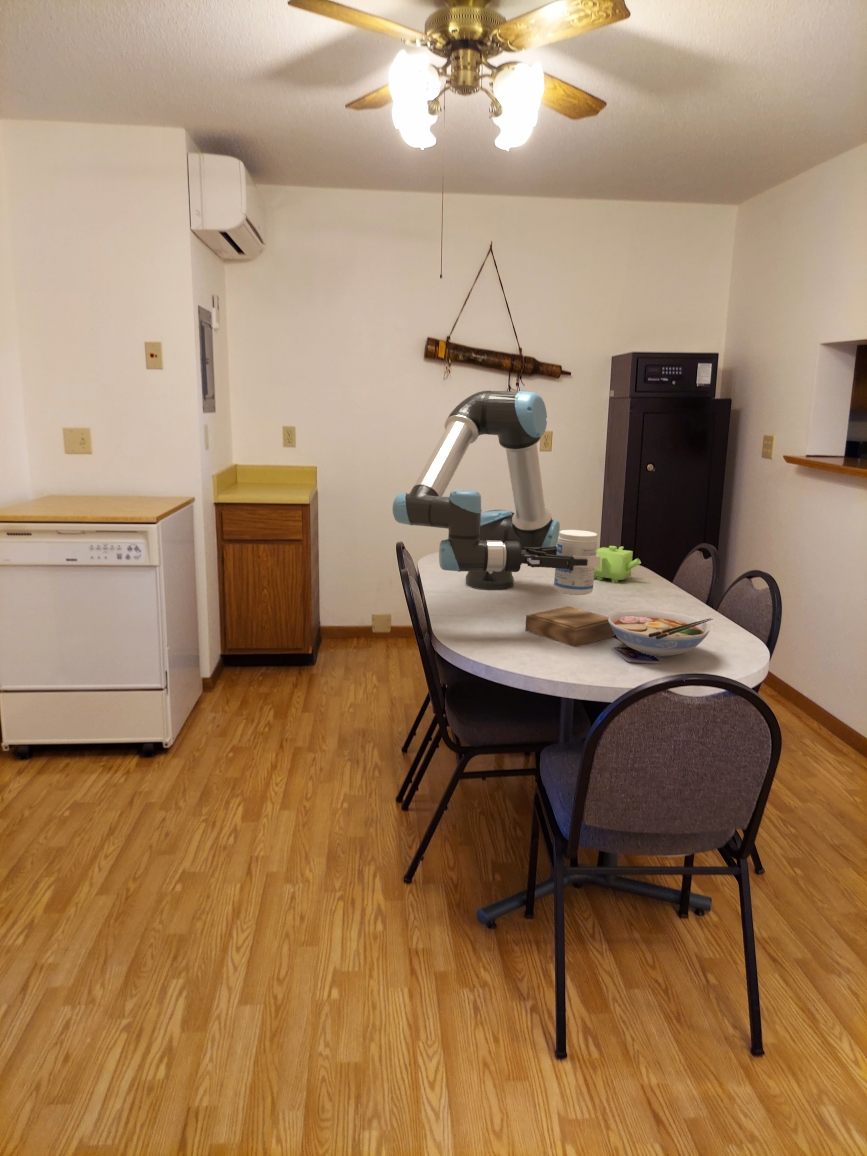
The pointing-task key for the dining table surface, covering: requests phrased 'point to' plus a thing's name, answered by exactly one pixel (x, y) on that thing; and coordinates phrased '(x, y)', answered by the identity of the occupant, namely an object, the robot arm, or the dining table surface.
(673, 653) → the ramen bowl
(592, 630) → the stand
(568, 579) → the supplement tub
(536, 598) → the dining table surface
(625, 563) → the kettle
